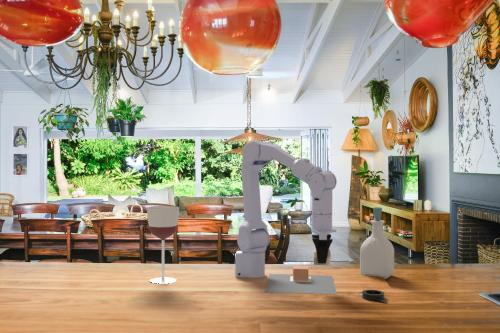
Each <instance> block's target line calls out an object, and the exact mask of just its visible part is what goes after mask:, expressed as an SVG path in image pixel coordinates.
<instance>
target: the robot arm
mask: <svg viewBox="0 0 500 333" xmlns="http://www.w3.org/2000/svg"><path fill="white" fill-rule="evenodd" d="M241 152H242V153H241V154H242V155H241V157H242V162H241V168H240V169H241V181H242V182H241V183H242V184H241V185H242V200H243V202H242V204H243V214H244V215H243V216H244V221H243V222H242V223H241V225H239V227H238V235H237V241H236V242H237V246H238V248H239V250H236V252H235V260H234V261H235V267H234V268H235V269H234V274H235V275H234V276H235V277H236V278H252V279H256V278H257V279H258V278H262V277H265V274H266V273H265V272H266V271H265V270H266V268H265V267H266V266H265V265H266V260H265V259H266V251H267V247H268V246H269V245H270V242H271V236H270V234H269V233H270V232H269V231H268V225H267V224H266V223H265V222H264V220H263V219H262V206H261V192H260V191H261V189H260V188H261V187H260V173H259V172H260V170H261V169H262V168H263V167H264V166H265V165H267V164H269V163H270V162H272V161H277V162H278V163H280V164H281V165H283V166H285V167H287V168H289V169H291V173H292V175H293V176H294V177H295V178H298V179H299V180H301V181H302V182H304V183H305V184H307V186H308V188H309V190H310V196H311V229H310V232H311V233H313V234H311V240H312V242H313V245H314V247H315V248H314V249H316V253H317V259H318V263H326V261H327V256H328V251H329V250H330V247H331V246H332V245H331V244H332V243H333V238H332V234H333V233H336V232H337V229H336V228H333V190H335V188H336V186H337V184H338V183H337V177H336V175H335V173H333V172H332V171H331V170H323V168H322V167H321V166H316V165H315V164H313V163H312V162H311V159H309V158H299V159H298V158H296V157H295V156H293V155H292V154H290V153H289V152H288V151H286V150H284V149H283V148H282V147H280V145H279V144H277V143H274V142H273V141H269V140H268V141H259V140H257V141H255V140H249V141H247V142H246V143H245V145H244V146H243V147H242V148H241Z"/></svg>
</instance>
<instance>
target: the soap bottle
mask: <svg viewBox="0 0 500 333" xmlns="http://www.w3.org/2000/svg"><path fill="white" fill-rule="evenodd" d="M372 209H373V219H371V220H370V221H369V223H371V225H372V228H371V230H372V231H371V234H370V236H368V237H367V238H365V240H364V241H362V244H361V246H360V250H359V273H360V275H361V276H373V277H382V278H383V279H384V280H387V279H389V278H390V277H392V275H393V274H394V272H395V247H394V245H393V244H392V242H391V241H390V240H389V239H388V238H387V237H386V236H385V235H384V232H383V227H384V226H383V225H384V224H385V220H381V219H382V213H383V208H382V207H380V206H379V207H378V206H375V207H373V208H372Z"/></svg>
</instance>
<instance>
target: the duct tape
mask: <svg viewBox="0 0 500 333" xmlns="http://www.w3.org/2000/svg"><path fill="white" fill-rule="evenodd" d="M358 294H359V295H361V299H364V300H366V301H371V302H372V301H373V302H382V303H384V304H389V302H388V301H386V300H384V299H385V292H384V291H382V290H379V289H365V290H364V289H363V290H362V291H361V292H358Z"/></svg>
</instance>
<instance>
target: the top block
mask: <svg viewBox="0 0 500 333" xmlns="http://www.w3.org/2000/svg"><path fill="white" fill-rule="evenodd" d="M331 256H332V254H331V250H330V249H329V251H328V256H327V261H326V263H318V259H317V253H316V248H314V249H313V265H314V266H331V264H332V262H331V261H332V260H331Z"/></svg>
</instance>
